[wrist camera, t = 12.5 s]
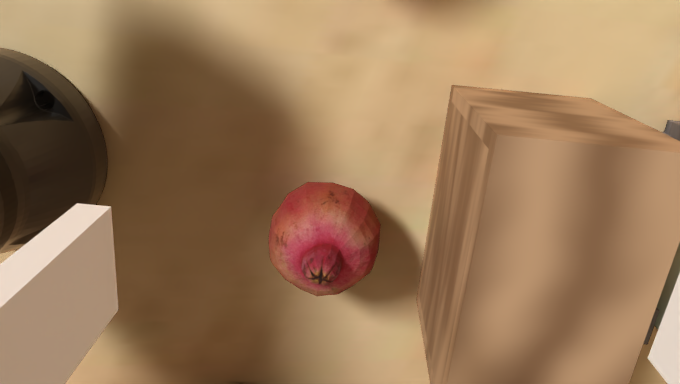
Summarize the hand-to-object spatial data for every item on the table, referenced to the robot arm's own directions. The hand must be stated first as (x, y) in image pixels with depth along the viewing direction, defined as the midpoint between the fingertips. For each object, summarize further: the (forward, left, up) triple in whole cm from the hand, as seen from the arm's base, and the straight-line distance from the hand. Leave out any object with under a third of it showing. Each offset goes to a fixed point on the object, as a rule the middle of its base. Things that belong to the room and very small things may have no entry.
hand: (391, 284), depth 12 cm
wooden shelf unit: (+17, -8, -28) cm, 33 cm away
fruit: (-2, -10, -28) cm, 30 cm away
